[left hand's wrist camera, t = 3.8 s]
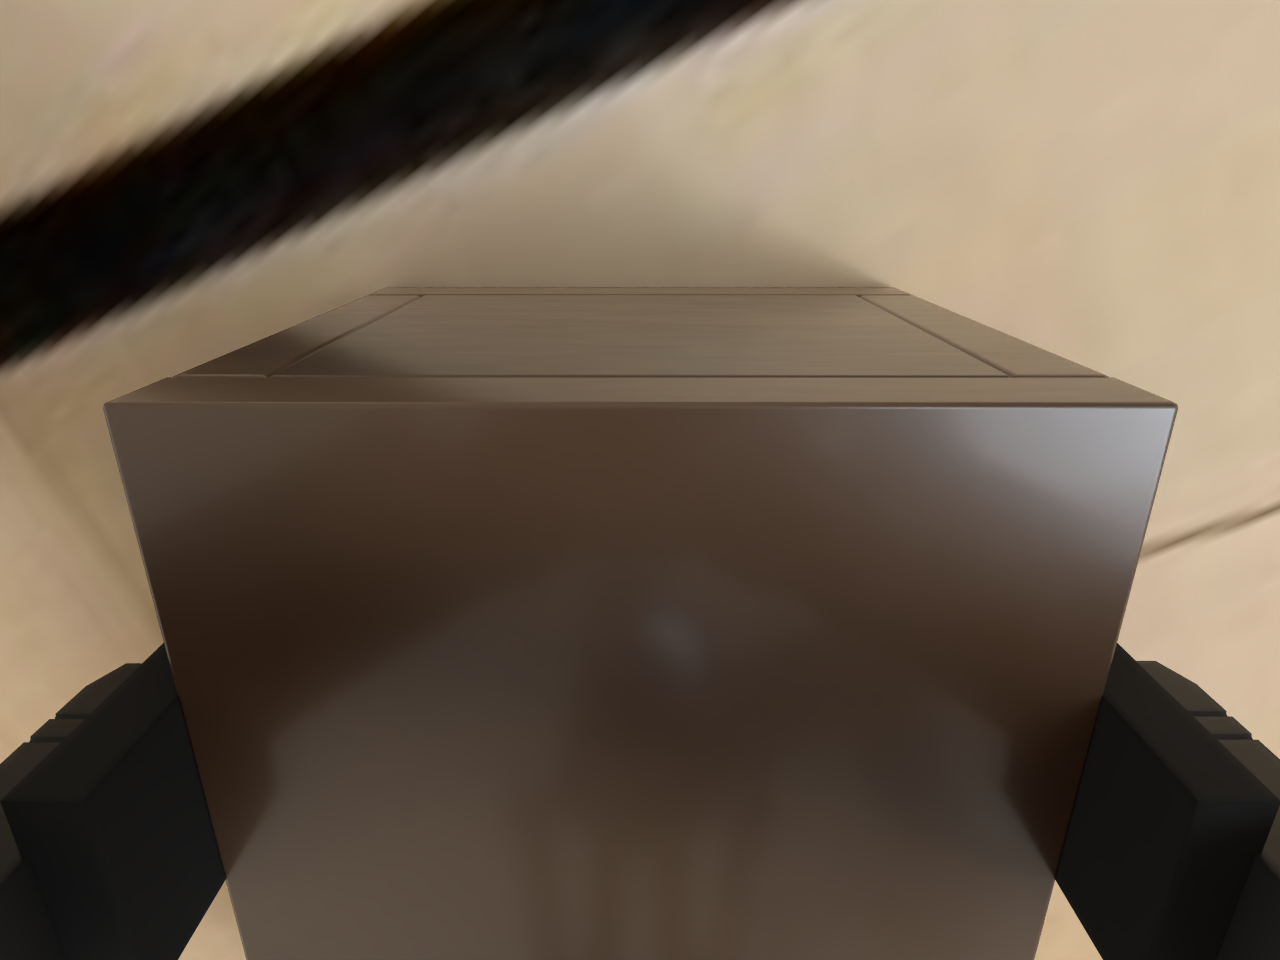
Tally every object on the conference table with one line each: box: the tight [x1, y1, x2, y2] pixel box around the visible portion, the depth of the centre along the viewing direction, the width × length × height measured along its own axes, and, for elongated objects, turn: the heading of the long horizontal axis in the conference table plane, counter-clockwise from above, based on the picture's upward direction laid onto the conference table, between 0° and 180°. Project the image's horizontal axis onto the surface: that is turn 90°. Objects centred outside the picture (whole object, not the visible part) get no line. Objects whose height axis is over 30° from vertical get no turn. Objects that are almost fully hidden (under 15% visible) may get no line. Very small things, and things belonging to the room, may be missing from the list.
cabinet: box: [103, 288, 1178, 960], centre depth 15 cm, size 20×10×9 cm, turn 0°
